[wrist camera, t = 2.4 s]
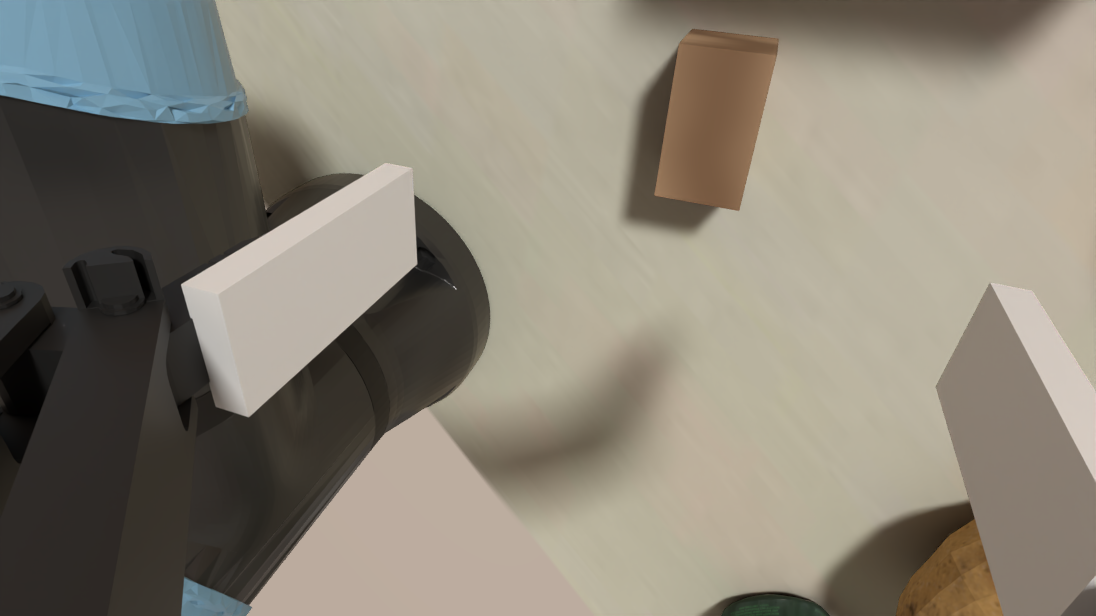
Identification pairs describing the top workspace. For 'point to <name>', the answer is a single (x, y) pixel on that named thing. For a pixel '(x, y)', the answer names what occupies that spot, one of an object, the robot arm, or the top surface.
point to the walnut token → (714, 116)
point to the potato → (953, 580)
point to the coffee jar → (774, 607)
